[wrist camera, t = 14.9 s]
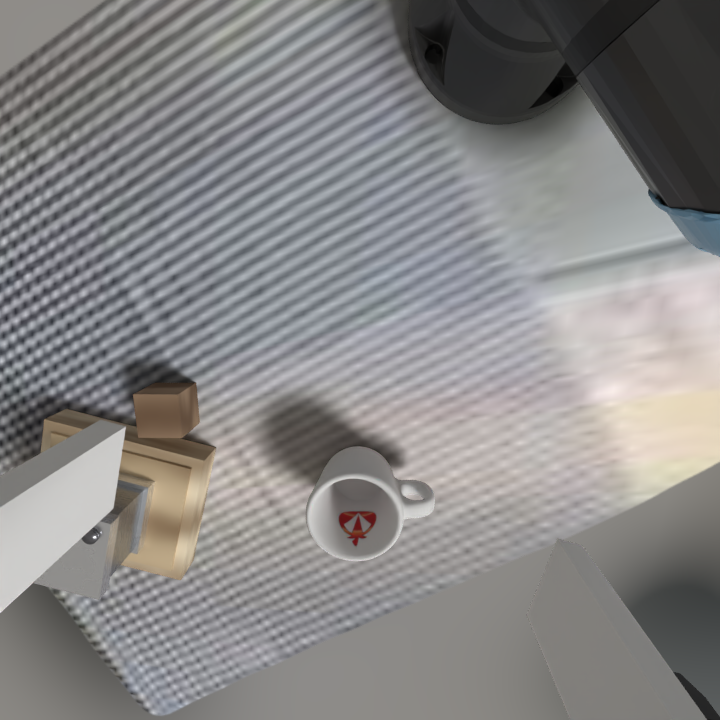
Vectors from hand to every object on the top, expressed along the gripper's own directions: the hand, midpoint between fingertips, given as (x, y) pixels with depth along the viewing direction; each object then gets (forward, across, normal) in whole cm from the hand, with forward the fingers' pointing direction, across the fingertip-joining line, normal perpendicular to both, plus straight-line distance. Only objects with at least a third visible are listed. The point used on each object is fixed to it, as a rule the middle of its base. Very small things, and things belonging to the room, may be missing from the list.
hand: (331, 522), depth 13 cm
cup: (+29, +4, -12) cm, 32 cm away
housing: (+25, -19, -20) cm, 38 cm away
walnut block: (+29, -16, -10) cm, 34 cm away
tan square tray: (+29, -19, -20) cm, 40 cm away
